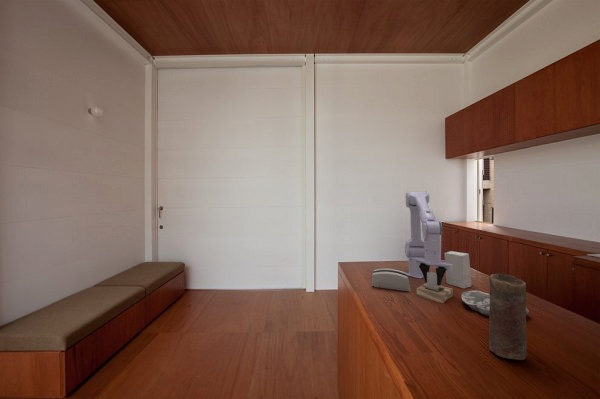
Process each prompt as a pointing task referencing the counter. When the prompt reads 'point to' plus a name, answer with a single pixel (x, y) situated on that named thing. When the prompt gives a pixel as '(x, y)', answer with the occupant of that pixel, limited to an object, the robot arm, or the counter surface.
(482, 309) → the brain slice
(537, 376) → the counter surface
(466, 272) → the skincare box
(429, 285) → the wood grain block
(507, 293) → the brown tall cylinder
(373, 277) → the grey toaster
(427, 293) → the well block
